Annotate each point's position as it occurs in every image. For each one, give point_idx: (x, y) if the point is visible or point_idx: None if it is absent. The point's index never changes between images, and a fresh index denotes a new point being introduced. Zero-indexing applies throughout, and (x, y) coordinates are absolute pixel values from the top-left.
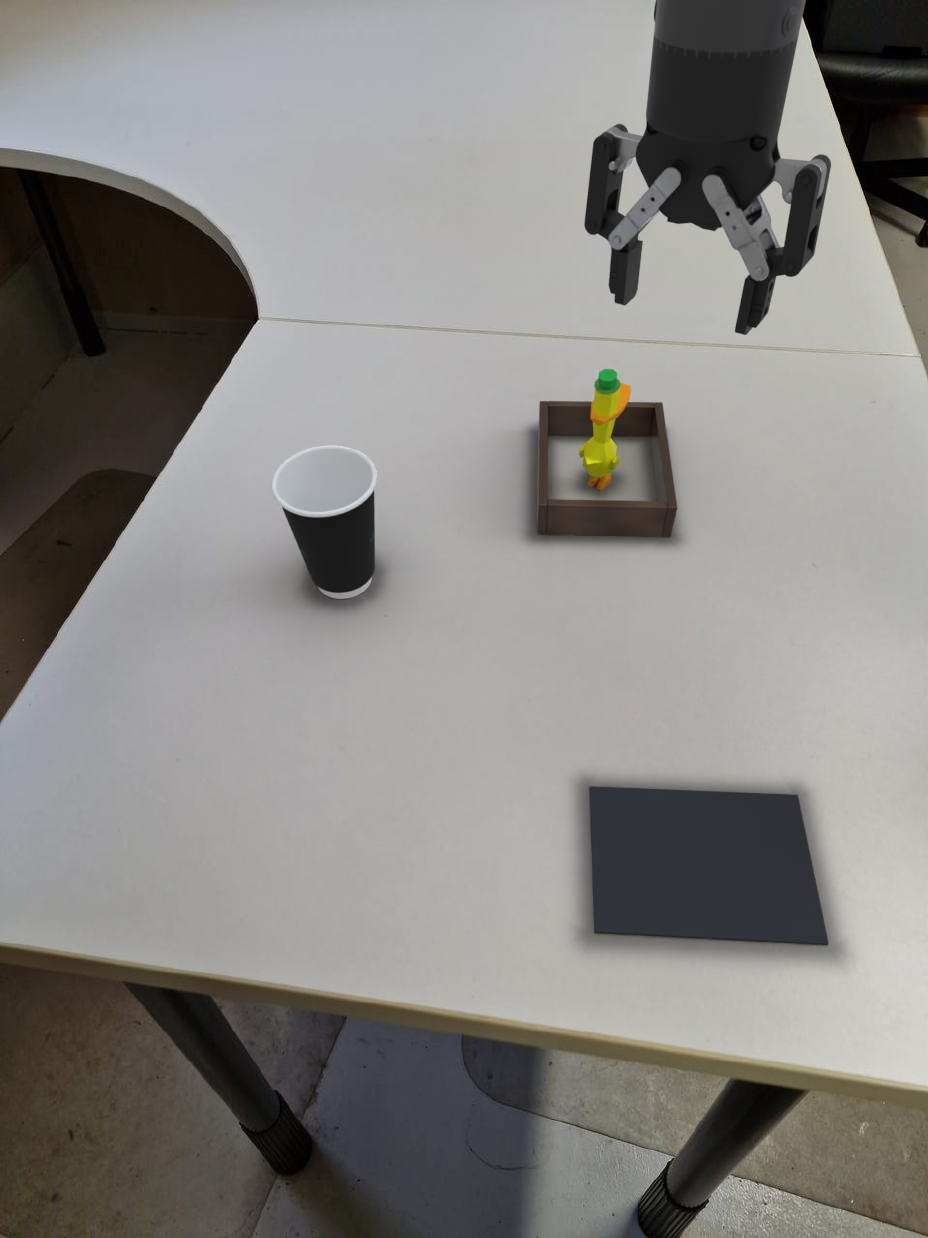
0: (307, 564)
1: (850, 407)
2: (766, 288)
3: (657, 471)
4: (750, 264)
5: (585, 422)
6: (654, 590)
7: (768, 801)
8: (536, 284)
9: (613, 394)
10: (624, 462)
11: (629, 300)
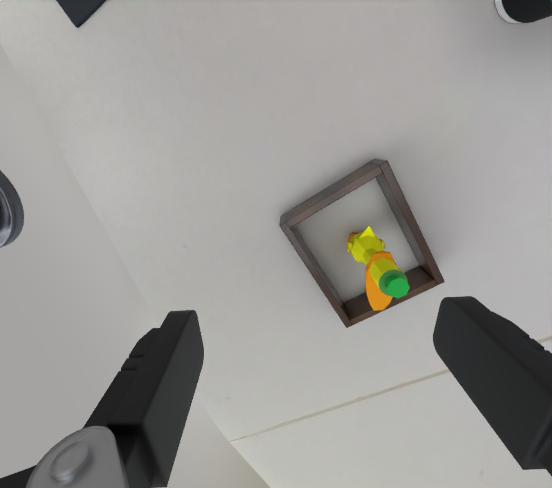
0: None
1: (237, 388)
2: (93, 413)
3: (318, 266)
4: (101, 482)
5: None
6: (263, 158)
7: (86, 3)
8: None
9: (380, 275)
10: (348, 269)
11: (438, 318)
